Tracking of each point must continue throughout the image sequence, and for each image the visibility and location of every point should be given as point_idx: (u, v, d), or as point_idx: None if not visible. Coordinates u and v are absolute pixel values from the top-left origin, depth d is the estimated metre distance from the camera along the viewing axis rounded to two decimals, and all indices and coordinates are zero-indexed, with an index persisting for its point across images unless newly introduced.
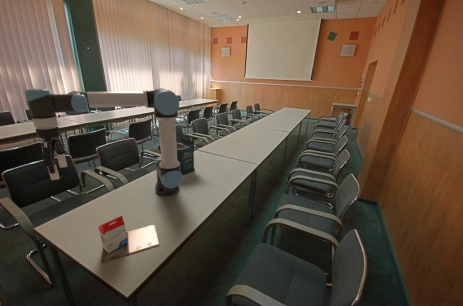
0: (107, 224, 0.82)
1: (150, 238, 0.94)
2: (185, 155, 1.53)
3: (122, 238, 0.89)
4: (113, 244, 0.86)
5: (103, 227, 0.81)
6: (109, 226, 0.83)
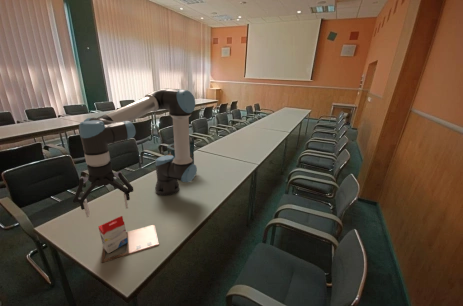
0: (107, 224, 0.82)
1: (150, 238, 0.94)
2: None
3: (122, 238, 0.89)
4: (113, 244, 0.86)
5: (103, 227, 0.81)
6: (109, 226, 0.83)
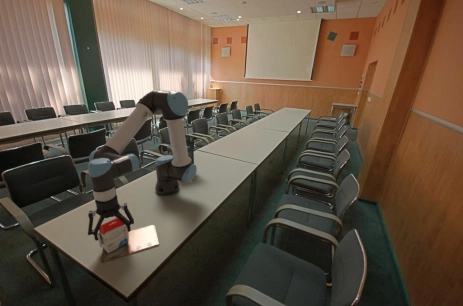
0: (107, 224, 0.82)
1: (150, 238, 0.94)
2: None
3: (122, 238, 0.89)
4: (113, 244, 0.86)
5: (103, 227, 0.81)
6: (109, 226, 0.83)
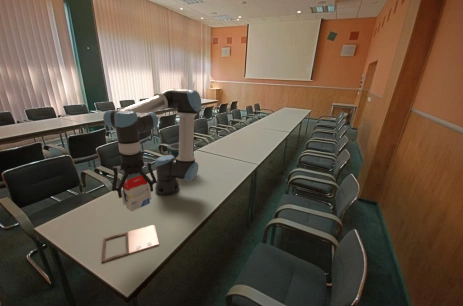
0: (131, 180, 0.81)
1: (150, 238, 0.94)
2: None
3: (145, 197, 0.87)
4: (136, 203, 0.85)
5: (128, 183, 0.80)
6: (133, 183, 0.82)
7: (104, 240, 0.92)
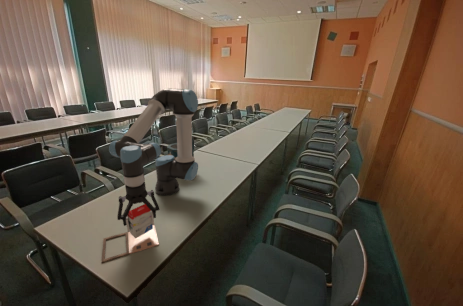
0: (136, 210, 0.86)
1: (150, 238, 0.94)
2: None
3: (148, 224, 0.92)
4: (140, 230, 0.90)
5: (132, 212, 0.85)
6: (137, 212, 0.86)
7: (104, 240, 0.92)
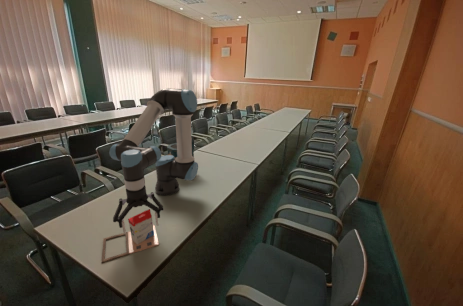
0: (137, 217, 0.87)
1: (150, 238, 0.94)
2: None
3: (149, 230, 0.94)
4: (142, 236, 0.91)
5: (133, 219, 0.86)
6: (139, 218, 0.88)
7: (104, 240, 0.92)
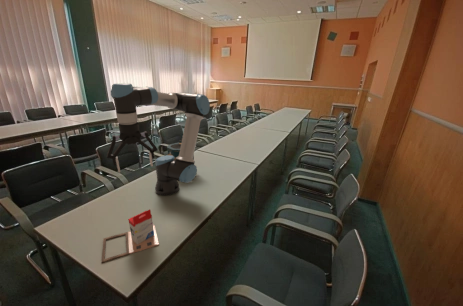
0: (137, 217, 0.87)
1: (150, 238, 0.94)
2: None
3: (149, 230, 0.94)
4: (142, 236, 0.91)
5: (134, 220, 0.86)
6: (139, 219, 0.88)
7: (104, 240, 0.92)
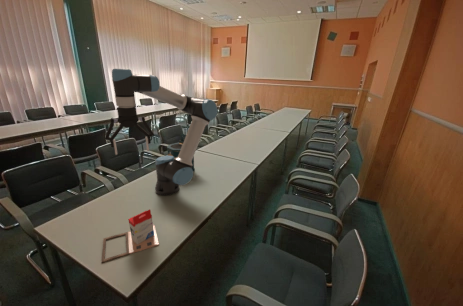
0: (137, 217, 0.87)
1: (150, 238, 0.94)
2: None
3: (149, 230, 0.94)
4: (142, 236, 0.91)
5: (134, 220, 0.86)
6: (139, 219, 0.88)
7: (104, 240, 0.92)
